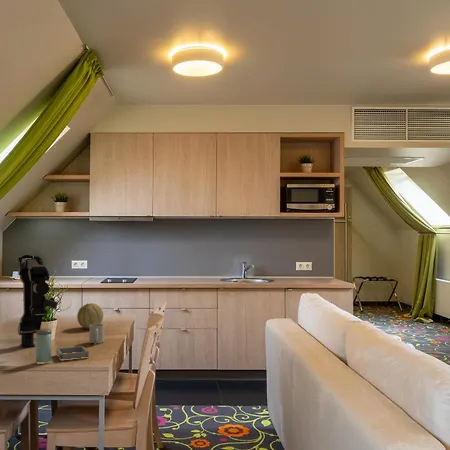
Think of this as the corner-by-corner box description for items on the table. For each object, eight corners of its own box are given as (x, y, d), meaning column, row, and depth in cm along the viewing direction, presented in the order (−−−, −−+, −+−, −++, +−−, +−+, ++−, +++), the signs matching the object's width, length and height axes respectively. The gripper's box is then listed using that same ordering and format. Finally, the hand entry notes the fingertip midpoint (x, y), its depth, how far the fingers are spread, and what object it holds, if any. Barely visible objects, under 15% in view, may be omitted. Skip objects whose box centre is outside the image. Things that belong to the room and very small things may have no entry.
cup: (104, 340, 253) (104, 323, 253) (103, 345, 243) (103, 327, 243) (89, 341, 251) (90, 323, 251) (88, 345, 242) (88, 327, 242)
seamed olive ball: (106, 326, 290) (107, 301, 290) (97, 331, 275) (98, 305, 275) (82, 325, 291) (83, 300, 291) (72, 330, 277) (73, 304, 277)
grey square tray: (56, 355, 223) (56, 348, 223) (82, 352, 228) (83, 345, 228) (60, 361, 212) (60, 354, 212) (88, 358, 218) (88, 351, 218)
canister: (37, 361, 212) (37, 329, 213) (52, 360, 214) (52, 328, 214) (34, 365, 206) (34, 332, 207) (49, 364, 207) (50, 331, 208)
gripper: (58, 294, 215) (58, 329, 214) (55, 291, 232) (55, 324, 231) (31, 295, 210) (31, 332, 209) (29, 292, 227) (30, 326, 226)
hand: (38, 328), depth 219 cm, fingers open, 9 cm apart
